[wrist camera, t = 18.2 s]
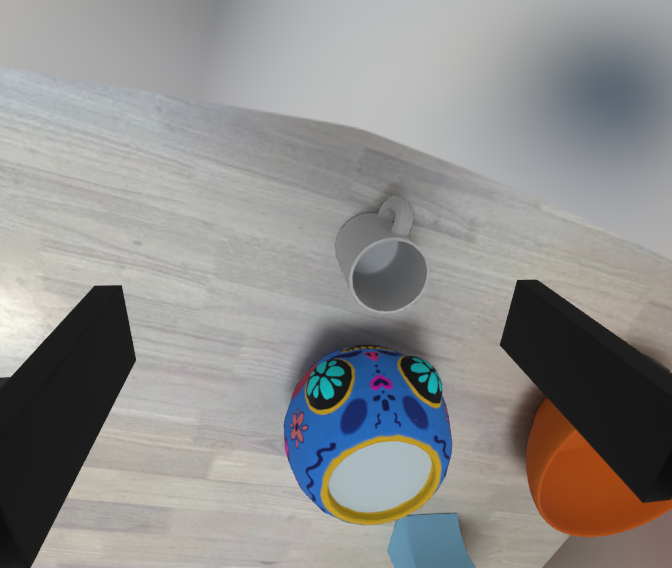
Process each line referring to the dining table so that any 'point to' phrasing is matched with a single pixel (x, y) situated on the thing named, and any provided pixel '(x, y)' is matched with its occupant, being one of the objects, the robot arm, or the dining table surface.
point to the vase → (428, 542)
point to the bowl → (579, 482)
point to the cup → (383, 258)
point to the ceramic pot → (368, 434)
